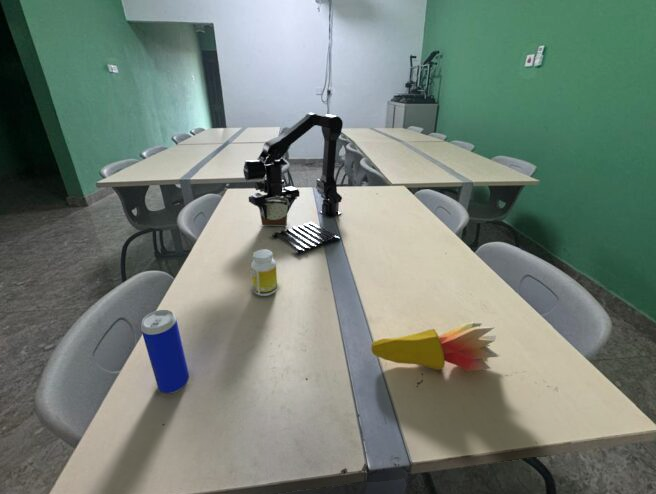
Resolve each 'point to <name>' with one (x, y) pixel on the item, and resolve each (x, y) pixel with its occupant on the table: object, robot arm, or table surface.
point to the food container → (276, 212)
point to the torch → (440, 348)
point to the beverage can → (165, 350)
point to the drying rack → (305, 247)
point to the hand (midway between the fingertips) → (275, 216)
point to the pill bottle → (264, 273)
